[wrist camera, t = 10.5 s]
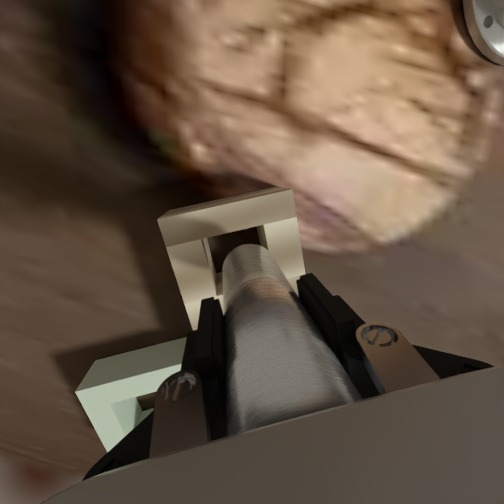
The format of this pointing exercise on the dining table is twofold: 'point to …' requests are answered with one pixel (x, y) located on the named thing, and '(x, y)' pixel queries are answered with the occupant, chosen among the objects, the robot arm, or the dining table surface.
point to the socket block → (225, 221)
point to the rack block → (126, 387)
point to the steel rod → (273, 347)
